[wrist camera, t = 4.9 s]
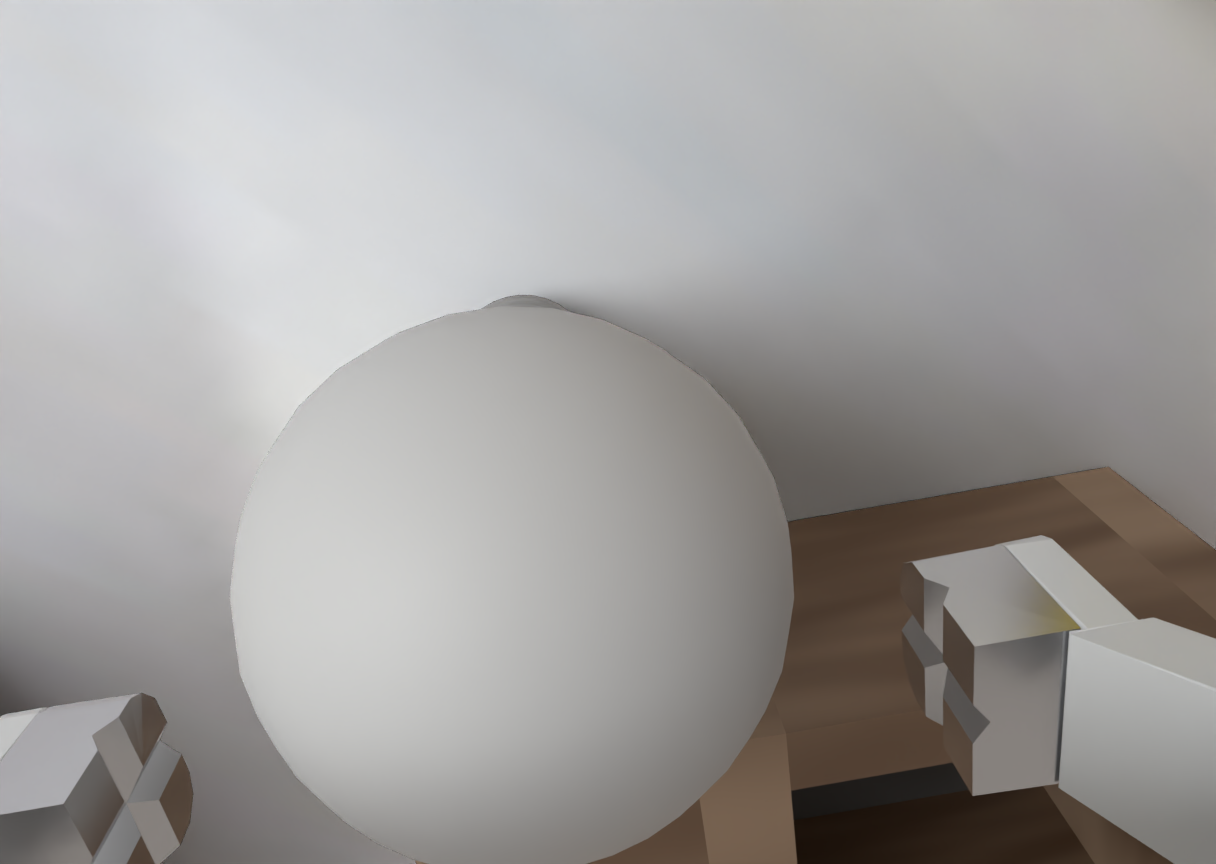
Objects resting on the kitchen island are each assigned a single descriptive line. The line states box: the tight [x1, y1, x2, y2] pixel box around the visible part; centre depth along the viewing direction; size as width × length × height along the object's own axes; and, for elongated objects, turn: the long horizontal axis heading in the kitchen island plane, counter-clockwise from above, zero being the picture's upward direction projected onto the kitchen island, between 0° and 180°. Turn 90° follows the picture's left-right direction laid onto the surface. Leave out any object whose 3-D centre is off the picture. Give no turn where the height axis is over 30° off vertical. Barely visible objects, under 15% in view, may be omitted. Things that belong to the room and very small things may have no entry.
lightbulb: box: [230, 295, 794, 864], centre depth 12 cm, size 6×6×11 cm
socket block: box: [415, 467, 1216, 864], centre depth 19 cm, size 10×15×6 cm, turn 98°
